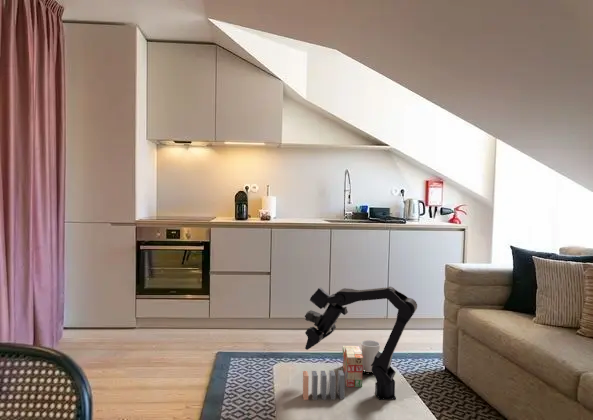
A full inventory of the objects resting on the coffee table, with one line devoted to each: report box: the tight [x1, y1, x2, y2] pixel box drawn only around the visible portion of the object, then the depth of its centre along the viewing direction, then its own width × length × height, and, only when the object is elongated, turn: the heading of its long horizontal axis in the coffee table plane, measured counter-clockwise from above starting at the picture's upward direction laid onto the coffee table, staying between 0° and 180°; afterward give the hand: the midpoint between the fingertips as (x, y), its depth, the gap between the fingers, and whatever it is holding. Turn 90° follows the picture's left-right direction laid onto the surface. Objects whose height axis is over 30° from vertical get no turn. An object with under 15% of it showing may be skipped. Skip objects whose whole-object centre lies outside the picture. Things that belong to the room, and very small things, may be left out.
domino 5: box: [337, 369, 346, 400], centre depth 172 cm, size 2×5×9 cm, turn 5°
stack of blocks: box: [342, 345, 364, 388], centre depth 191 cm, size 21×6×12 cm, turn 179°
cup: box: [360, 339, 381, 372], centre depth 196 cm, size 8×8×12 cm
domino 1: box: [302, 370, 310, 401], centre depth 171 cm, size 2×5×9 cm, turn 5°
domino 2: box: [311, 370, 319, 401], centre depth 171 cm, size 2×5×9 cm, turn 5°
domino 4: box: [328, 369, 337, 400], centre depth 172 cm, size 2×5×9 cm, turn 5°
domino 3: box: [319, 370, 328, 400], centre depth 171 cm, size 2×5×9 cm, turn 5°
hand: (310, 345), depth 184 cm, fingers open, 9 cm apart
